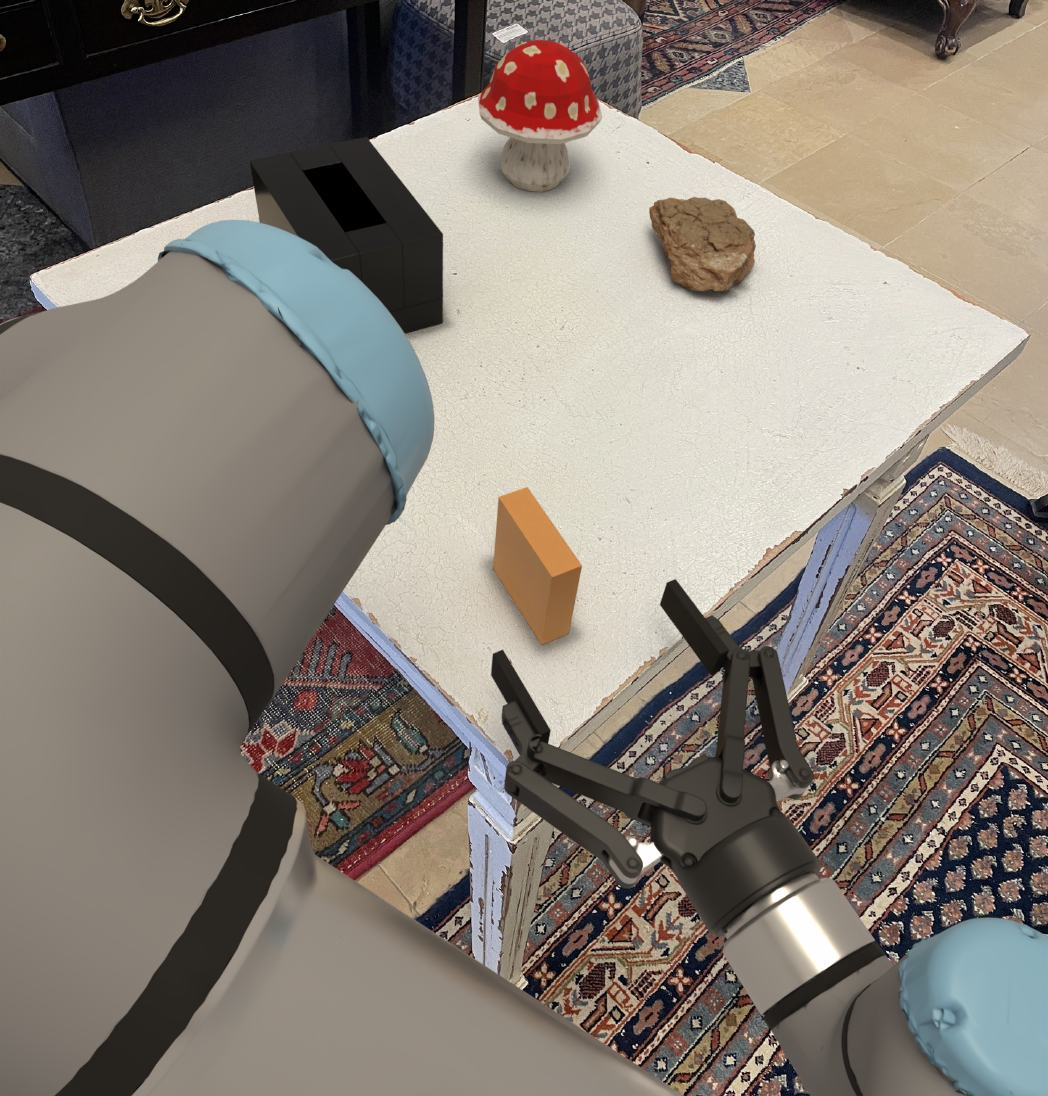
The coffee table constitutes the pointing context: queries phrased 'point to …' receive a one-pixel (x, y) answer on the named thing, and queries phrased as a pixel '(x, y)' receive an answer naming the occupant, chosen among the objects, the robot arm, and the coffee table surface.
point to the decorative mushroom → (539, 111)
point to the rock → (704, 242)
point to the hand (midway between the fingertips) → (584, 625)
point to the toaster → (358, 223)
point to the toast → (535, 565)
